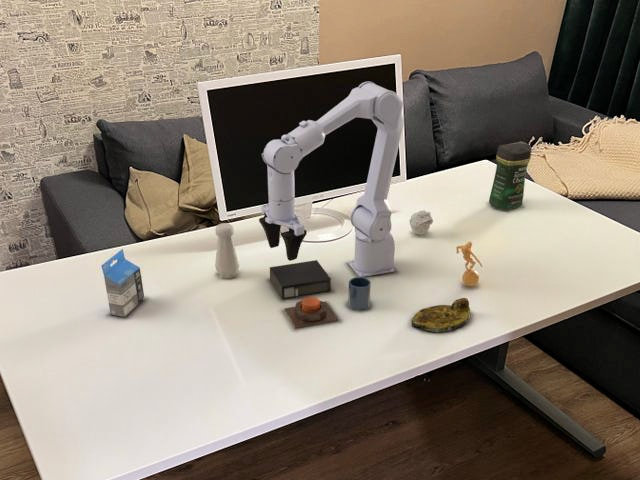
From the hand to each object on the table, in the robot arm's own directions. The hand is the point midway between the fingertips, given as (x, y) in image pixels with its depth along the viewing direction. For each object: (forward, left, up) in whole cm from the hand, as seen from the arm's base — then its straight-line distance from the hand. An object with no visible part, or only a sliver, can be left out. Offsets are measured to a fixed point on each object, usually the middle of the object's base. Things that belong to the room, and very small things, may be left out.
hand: (283, 252), depth 167 cm
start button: (-2, +13, -8) cm, 15 cm away
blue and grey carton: (+36, -4, -10) cm, 37 cm away
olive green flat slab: (-29, +24, -10) cm, 39 cm away
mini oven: (-4, -1, -10) cm, 11 cm away
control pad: (-2, +13, -10) cm, 16 cm away
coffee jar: (-77, -28, -10) cm, 83 cm away
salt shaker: (+11, -12, -10) cm, 19 cm away
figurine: (-42, +12, -10) cm, 45 cm away
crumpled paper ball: (-44, -18, -10) cm, 49 cm away
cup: (-14, +12, -10) cm, 21 cm away
